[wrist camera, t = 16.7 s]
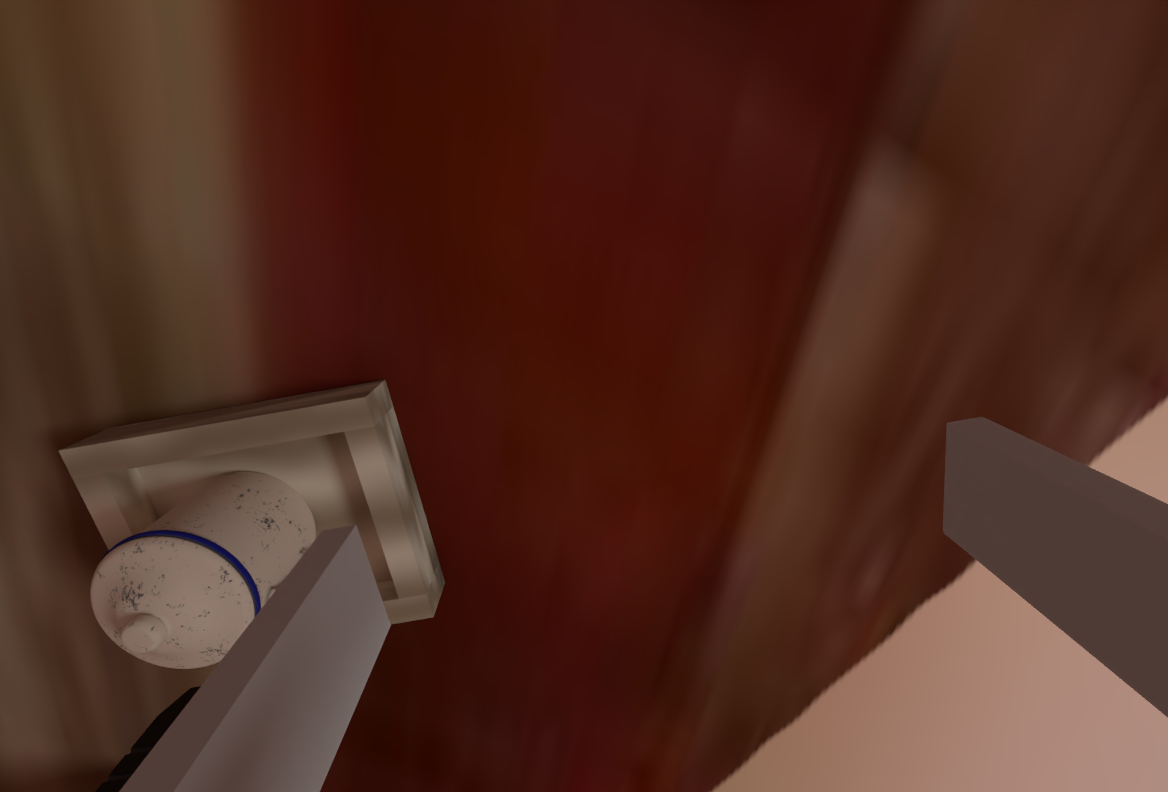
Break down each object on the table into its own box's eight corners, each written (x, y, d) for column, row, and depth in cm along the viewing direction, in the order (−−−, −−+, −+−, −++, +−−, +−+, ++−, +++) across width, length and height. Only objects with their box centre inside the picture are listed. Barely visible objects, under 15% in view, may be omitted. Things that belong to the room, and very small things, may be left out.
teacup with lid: (188, 563, 40) (45, 692, 29) (195, 453, 38) (41, 549, 27) (353, 594, 42) (276, 730, 31) (370, 490, 39) (292, 596, 28)
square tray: (108, 428, 39) (58, 450, 35) (385, 379, 38) (365, 397, 34) (200, 623, 44) (165, 661, 40) (444, 582, 43) (433, 617, 40)
